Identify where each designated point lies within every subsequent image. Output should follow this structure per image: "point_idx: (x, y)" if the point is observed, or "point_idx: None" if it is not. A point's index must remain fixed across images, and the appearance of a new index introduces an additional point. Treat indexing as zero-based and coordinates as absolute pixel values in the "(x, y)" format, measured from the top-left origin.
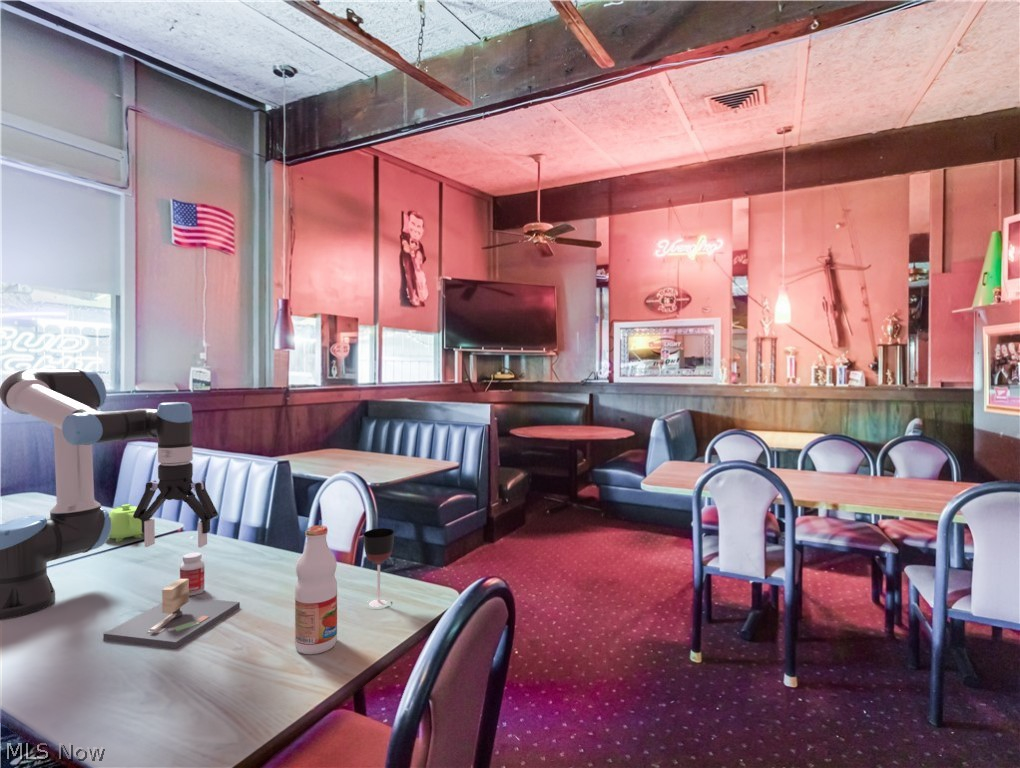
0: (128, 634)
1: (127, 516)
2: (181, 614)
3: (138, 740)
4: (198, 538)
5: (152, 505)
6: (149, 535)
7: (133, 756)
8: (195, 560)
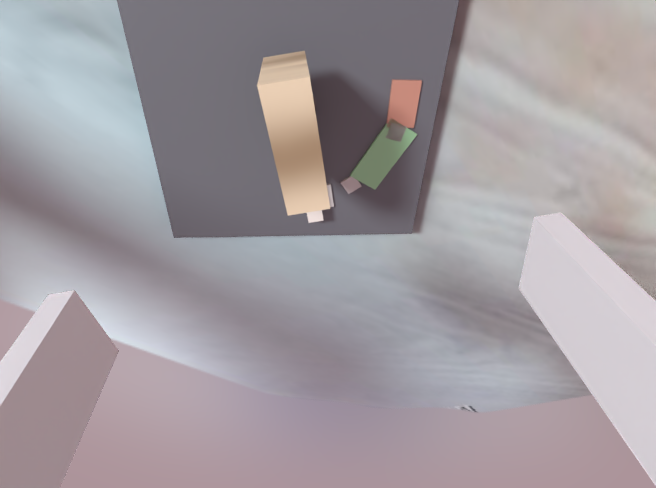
0: (250, 228)
1: None
2: (314, 100)
3: (502, 392)
4: (563, 347)
5: None
6: (69, 420)
7: (512, 405)
8: None
